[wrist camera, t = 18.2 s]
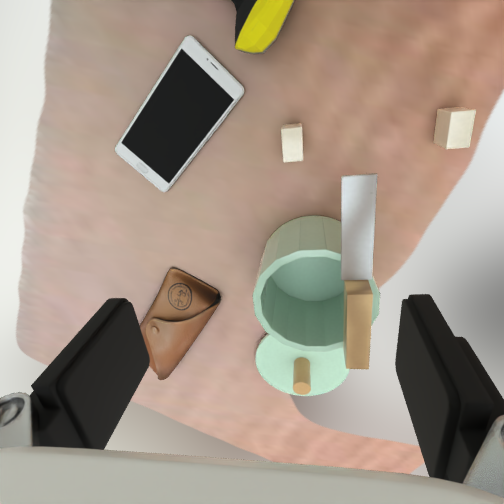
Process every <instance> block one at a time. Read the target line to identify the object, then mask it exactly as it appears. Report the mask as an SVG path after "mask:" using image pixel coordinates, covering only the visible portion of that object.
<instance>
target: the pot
mask: <svg viewBox="0 0 504 504" xmlns="http://www.w3.org/2000/svg"><path fill="white" fill-rule="evenodd" d="M369 284H370V287H371V290H372V293H373V304H372V321H371V326H372V324H373V322H374V321H375V319H376V318H377V316H378V314H379V303H380V292H379V289H378V286H377V283H376V281H375V278H374V275H373V272H372V280H369ZM253 303H254V310H255V315H256V317H257V319H258V320H259V322H260V323H261V325H262V326H263V328H264V330H265V331H266V332H267V333H268V334H270V335H271V336H272V337H274V338H275V339H277V340H278V341H279V342H281V343H282V344H284V345H287V346H290V347H293V348H296V349H299V350H302V351H321V352H327V351H331V350H335V349H338V348H342V347H343V326H344V280H341V222H340V221H338V220H335V219H333V218H329V217H325V216H303V217H299V218H296V219H293V220H291V221H289V222H287V223H285V224H283V225H282V226H280V227H279V228H278V229H277V230H276V231H275V232H274V233H273V234H272V235H271V237H270V238H269V239H268V241H267V243H266V246H265V249H264V252H263V255H262V258H261V262H260V266H259V270H258V275H257V279H256V283H255V287H254V291H253Z"/></svg>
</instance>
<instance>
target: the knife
mask: <svg viewBox="0 0 504 504" xmlns="http://www.w3.org/2000/svg"><path fill="white" fill-rule="evenodd" d="M376 192H377V173H372V174H358V175H345V176H341V280H344V326H343V351H344V358H345V365H346V369H369V355H370V339H371V321H372V304H373V293H372V290H371V287H370V284H369V280H372V266H373V247H374V229H375V210H376Z"/></svg>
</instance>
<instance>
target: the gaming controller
mask: <svg viewBox="0 0 504 504" xmlns="http://www.w3.org/2000/svg"><path fill="white" fill-rule="evenodd" d="M231 1H232V2H233V3H234V4H235V7H236V11H237V15H236V26H235V48H236V49H237V50H239V51H242V52H244V53H249V54H261V53H264V52H265V51H266V50H267V49H268V48H269V47H270V46H271V45H272V44H273V43H274V41H275V40H276V39H277V37H278V35H279V33H280V31H281V29H282V27H283V24H284V22H285V20H286V18H287V16H288V14H289V12H290V10H291V8H292V5H293V3H294V1H295V0H231Z"/></svg>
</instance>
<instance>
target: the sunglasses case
mask: <svg viewBox="0 0 504 504" xmlns="http://www.w3.org/2000/svg"><path fill="white" fill-rule="evenodd" d="M220 301H221V296H220V294H219V292H218V290H216V289H215V288H213V287H211V286H210V285H208V284H206V283H205V282H203V281H201V280H199V279H197V278H196V277H194V276H192V275H190V274H187V273H185V272H183V271H181V270H179V269H177V268H171V269H169V271H168V273H167V275H166V277H165V279H164V282H163V284H162V286H161V289H160V291H159V293H158V295H157V297H156V299H155V300H154V302H153V304H152V306H151V308H150V309H149V311H148V313H147V314H146V316H145V318H144V320H143V321H142V323H141V325H140V329H141V332H142V335H143V338H144V341H145V344H146V347H147V350H148V353H149V357H150V363H149V366H150V367H151V368H152V369H153V371H154V372H155V373H156V374H157V375H158V379H159V380H164V379H166V378H167V377H168V376H169V375H170V374H171V373H172V371H173V370H174V369H175V367H176V366H177V365H178V363H179V362H180V361H181V359H182V358H183V357H184V355H185V354H186V352H187V351H188V349H189V348H190V346H191V345H192V344H193V342H194V341H195V339H196V338H197V336H198V335H199V334H200V332H201V331H202V329H203V328H204V326H205V325H206V323H207V322H208V320H209V319H210V317H211V316H212V314H213V313H214V311H215V310H216V308H217V306H218V305H219V303H220Z"/></svg>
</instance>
